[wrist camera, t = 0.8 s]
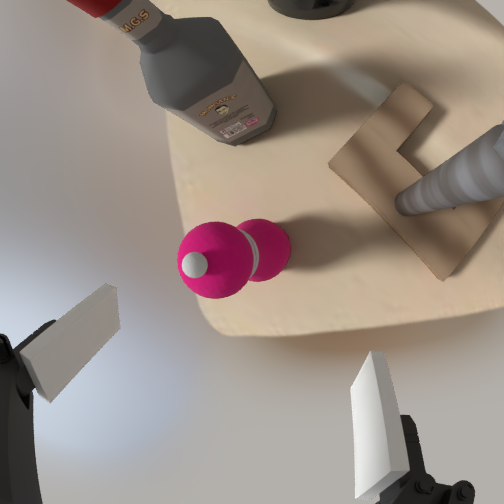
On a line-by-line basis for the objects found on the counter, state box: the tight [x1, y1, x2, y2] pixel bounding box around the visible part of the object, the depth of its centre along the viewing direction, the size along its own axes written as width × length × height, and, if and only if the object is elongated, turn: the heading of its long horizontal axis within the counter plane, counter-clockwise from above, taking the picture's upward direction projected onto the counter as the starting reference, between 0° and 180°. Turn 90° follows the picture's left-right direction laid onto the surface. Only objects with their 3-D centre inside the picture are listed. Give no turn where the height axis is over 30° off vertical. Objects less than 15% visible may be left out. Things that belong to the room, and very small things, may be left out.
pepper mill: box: [177, 219, 291, 299], centre depth 28 cm, size 7×7×20 cm
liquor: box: [67, 0, 277, 146], centre depth 23 cm, size 9×9×30 cm
